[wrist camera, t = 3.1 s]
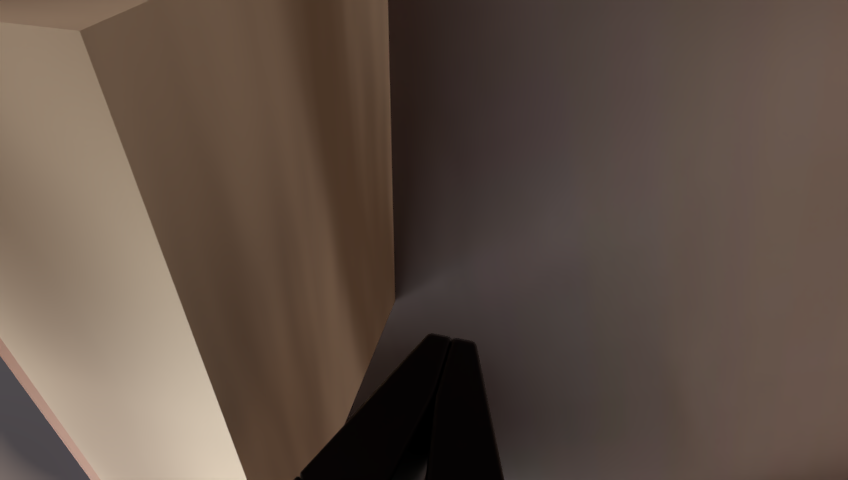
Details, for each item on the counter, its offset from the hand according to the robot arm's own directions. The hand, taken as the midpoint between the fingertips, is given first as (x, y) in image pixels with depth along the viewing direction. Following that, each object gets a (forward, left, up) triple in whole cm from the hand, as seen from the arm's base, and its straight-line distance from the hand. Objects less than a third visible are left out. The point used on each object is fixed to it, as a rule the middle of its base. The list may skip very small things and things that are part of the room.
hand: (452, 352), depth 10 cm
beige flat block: (+5, 0, -7) cm, 8 cm away
